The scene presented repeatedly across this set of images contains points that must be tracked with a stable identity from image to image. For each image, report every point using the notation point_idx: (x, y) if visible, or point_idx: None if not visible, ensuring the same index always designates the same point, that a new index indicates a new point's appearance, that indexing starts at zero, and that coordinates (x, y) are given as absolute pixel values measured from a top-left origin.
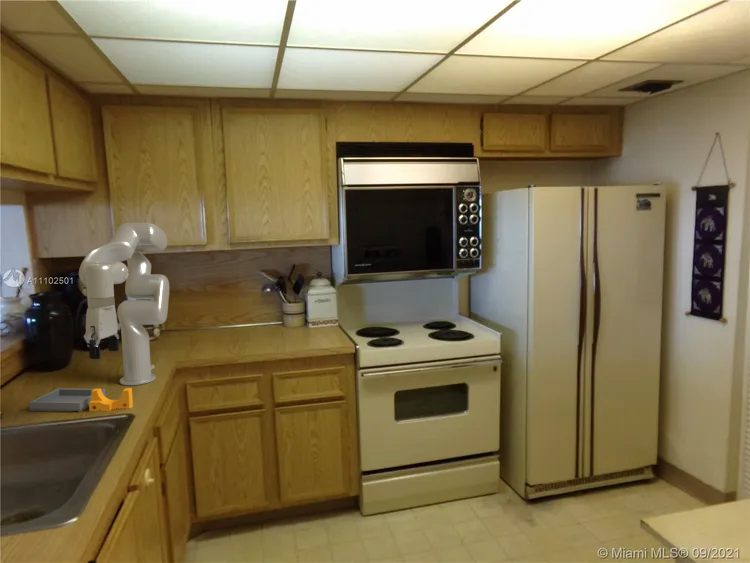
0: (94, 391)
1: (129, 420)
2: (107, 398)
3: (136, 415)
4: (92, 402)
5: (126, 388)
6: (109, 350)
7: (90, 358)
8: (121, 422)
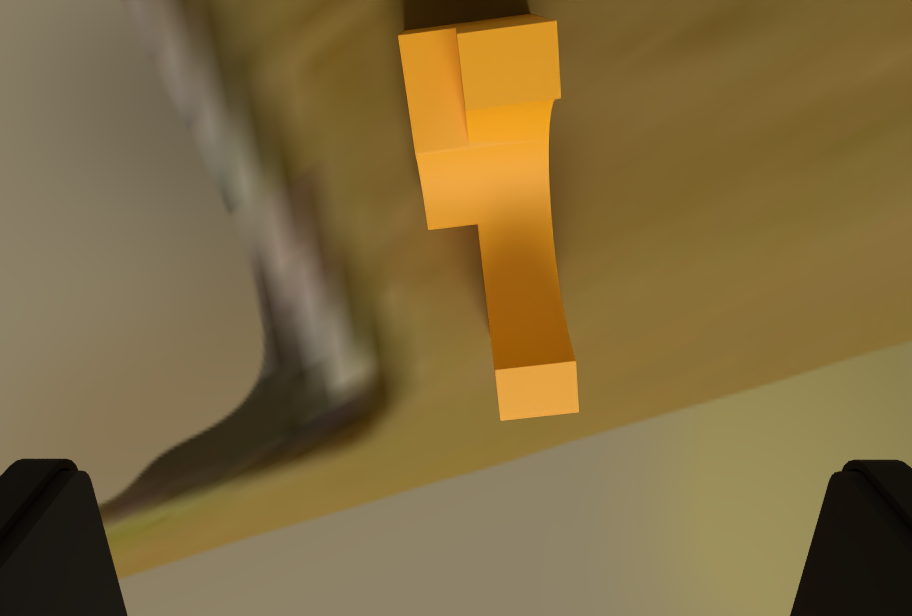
0: (462, 75)
1: (275, 447)
2: (544, 145)
3: (367, 444)
4: (404, 73)
5: (562, 372)
6: (833, 483)
7: (25, 470)
8: (232, 417)
